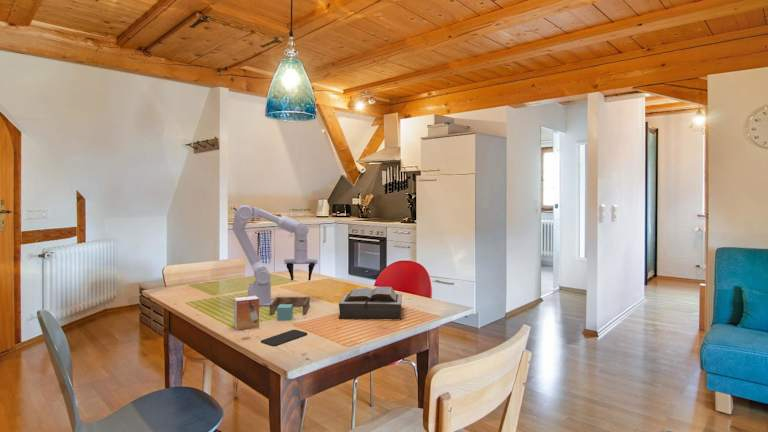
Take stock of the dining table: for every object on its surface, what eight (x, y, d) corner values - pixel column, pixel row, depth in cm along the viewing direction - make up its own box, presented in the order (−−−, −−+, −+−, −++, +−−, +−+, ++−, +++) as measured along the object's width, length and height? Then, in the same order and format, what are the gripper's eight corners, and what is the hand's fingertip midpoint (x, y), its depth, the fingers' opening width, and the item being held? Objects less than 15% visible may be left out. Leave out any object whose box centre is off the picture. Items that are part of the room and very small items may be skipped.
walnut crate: (269, 315, 172) (269, 305, 172) (276, 306, 186) (276, 297, 185) (305, 314, 173) (305, 304, 173) (309, 306, 186) (309, 296, 186)
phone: (259, 340, 141) (294, 329, 153) (259, 343, 141) (294, 331, 153) (274, 345, 136) (308, 333, 149) (274, 348, 137) (308, 335, 149)
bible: (397, 324, 161) (398, 298, 161) (329, 319, 168) (329, 294, 168) (409, 308, 184) (410, 285, 184) (349, 304, 191) (349, 282, 190)
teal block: (277, 320, 165) (277, 307, 165) (279, 317, 170) (279, 304, 170) (290, 320, 165) (290, 307, 165) (292, 316, 170) (292, 304, 170)
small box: (236, 330, 153) (235, 300, 152) (233, 326, 158) (233, 297, 157) (259, 327, 156) (259, 298, 156) (256, 323, 161) (256, 295, 161)
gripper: (282, 251, 190) (282, 281, 191) (316, 251, 191) (316, 281, 191) (285, 249, 197) (285, 278, 198) (317, 249, 198) (317, 278, 198)
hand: (300, 280), depth 195 cm, fingers open, 7 cm apart
